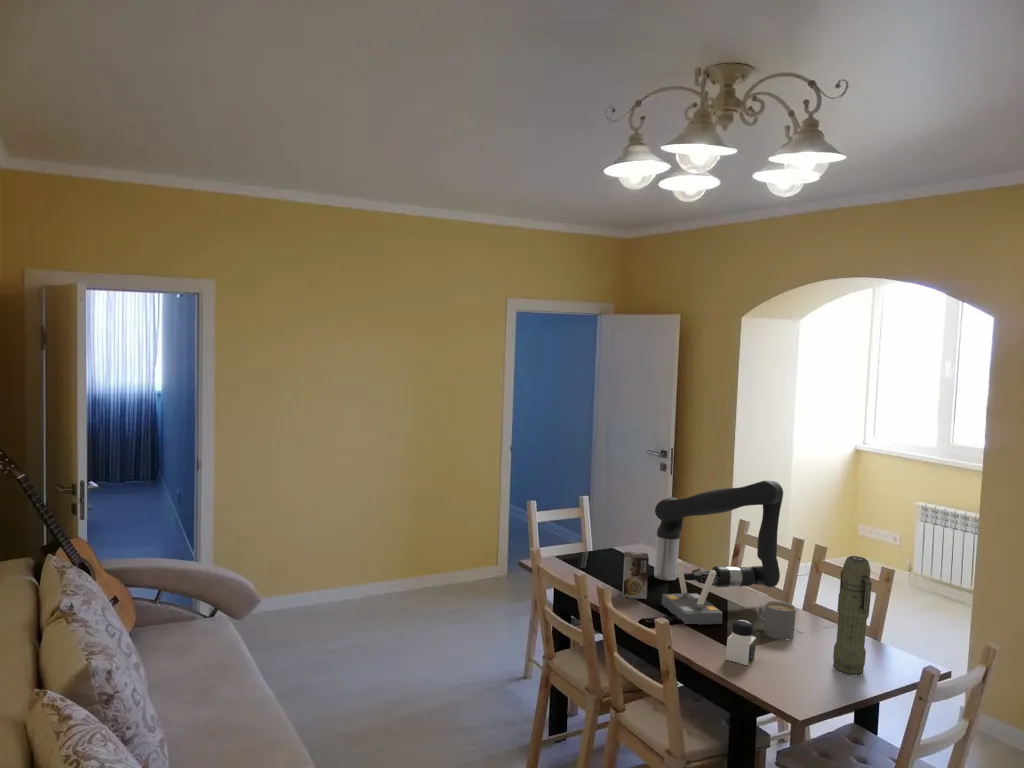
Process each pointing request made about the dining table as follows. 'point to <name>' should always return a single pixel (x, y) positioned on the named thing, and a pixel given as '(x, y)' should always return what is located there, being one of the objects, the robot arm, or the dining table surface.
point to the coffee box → (635, 575)
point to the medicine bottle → (741, 643)
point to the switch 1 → (681, 578)
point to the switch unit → (691, 609)
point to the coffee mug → (777, 619)
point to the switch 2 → (706, 589)
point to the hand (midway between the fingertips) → (683, 576)
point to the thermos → (852, 616)
